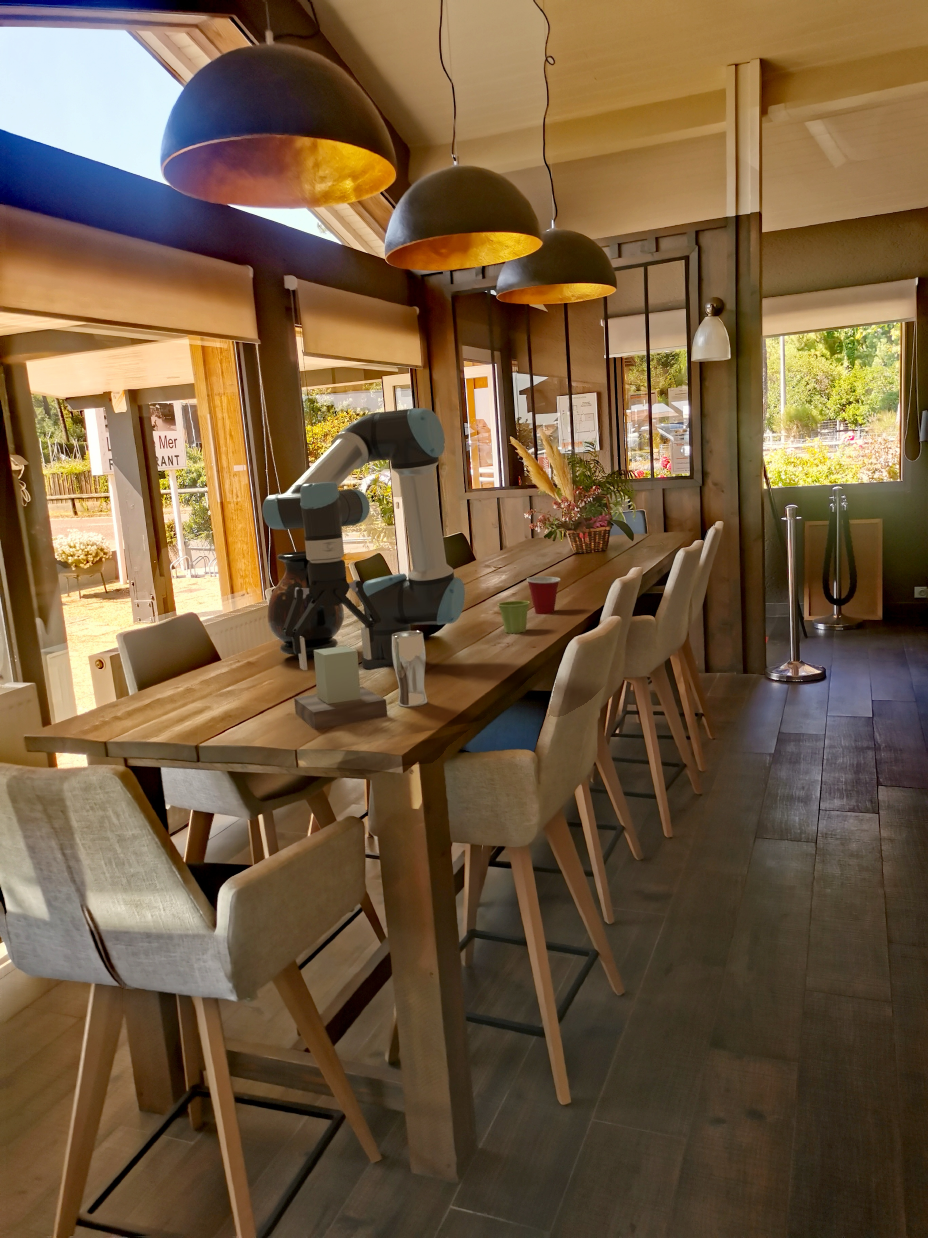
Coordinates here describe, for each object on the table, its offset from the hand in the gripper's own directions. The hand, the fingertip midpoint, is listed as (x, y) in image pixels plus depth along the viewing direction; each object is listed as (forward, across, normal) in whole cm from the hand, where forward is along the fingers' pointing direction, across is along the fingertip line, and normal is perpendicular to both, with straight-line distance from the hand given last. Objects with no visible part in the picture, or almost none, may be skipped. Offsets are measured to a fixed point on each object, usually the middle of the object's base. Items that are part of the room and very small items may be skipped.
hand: (336, 663), depth 190 cm
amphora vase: (+11, +16, +77) cm, 79 cm away
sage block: (+7, 0, 0) cm, 7 cm away
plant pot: (+12, +72, +56) cm, 92 cm away
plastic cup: (+12, +94, +76) cm, 121 cm away
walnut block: (+11, 0, 0) cm, 11 cm away
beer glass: (+11, +15, -2) cm, 19 cm away
